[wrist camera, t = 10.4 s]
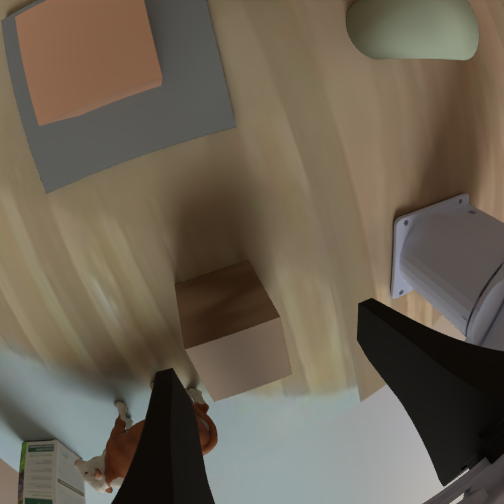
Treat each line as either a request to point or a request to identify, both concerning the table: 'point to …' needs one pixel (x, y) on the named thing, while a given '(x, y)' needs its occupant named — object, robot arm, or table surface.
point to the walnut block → (232, 331)
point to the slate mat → (133, 100)
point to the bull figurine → (125, 443)
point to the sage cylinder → (413, 29)
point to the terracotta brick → (85, 55)
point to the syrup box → (49, 474)
